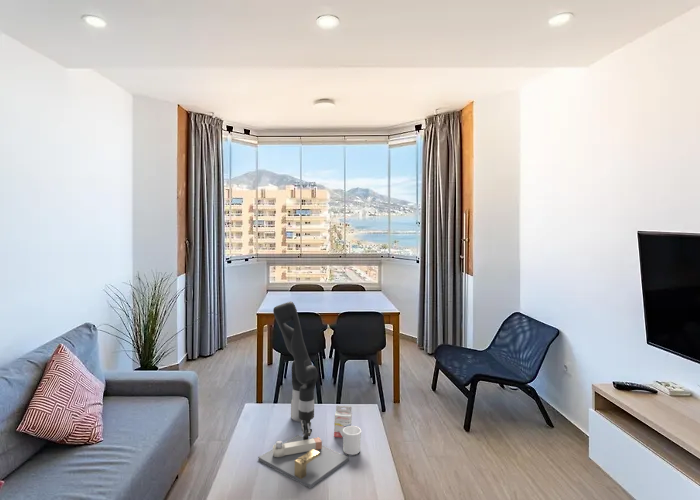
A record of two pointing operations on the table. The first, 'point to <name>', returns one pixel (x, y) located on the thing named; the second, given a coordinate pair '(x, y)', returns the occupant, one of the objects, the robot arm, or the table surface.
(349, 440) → the mug
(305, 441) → the latch bar
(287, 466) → the base plate
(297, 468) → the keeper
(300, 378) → the robot arm
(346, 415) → the ink cartridge box
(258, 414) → the table surface
